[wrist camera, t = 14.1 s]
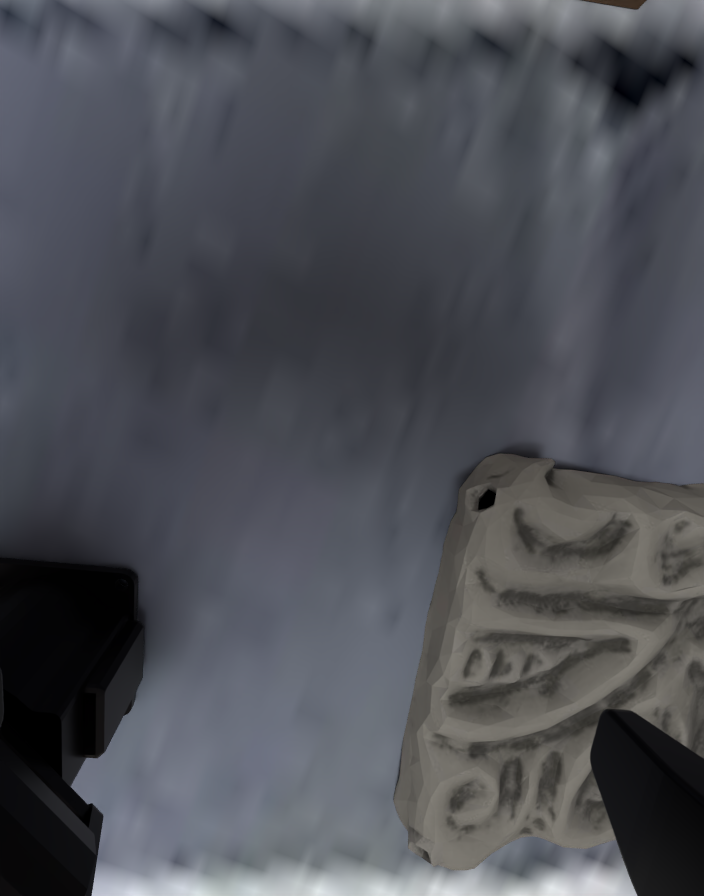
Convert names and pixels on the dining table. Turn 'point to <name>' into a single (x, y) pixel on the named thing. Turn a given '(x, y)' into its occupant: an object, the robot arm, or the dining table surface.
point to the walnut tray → (621, 3)
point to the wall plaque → (548, 653)
